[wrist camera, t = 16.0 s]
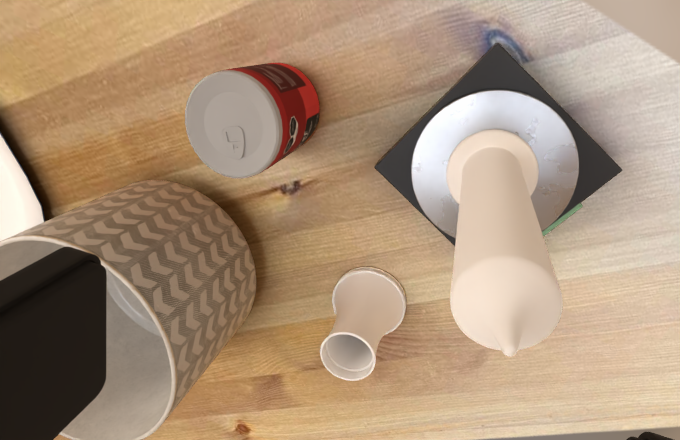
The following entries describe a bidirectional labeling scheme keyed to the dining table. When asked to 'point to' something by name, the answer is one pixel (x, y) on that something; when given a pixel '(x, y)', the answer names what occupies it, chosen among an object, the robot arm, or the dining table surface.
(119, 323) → the planter
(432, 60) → the dining table surface
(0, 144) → the plate
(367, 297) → the vase
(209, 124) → the canned food
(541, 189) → the scale
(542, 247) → the candle
